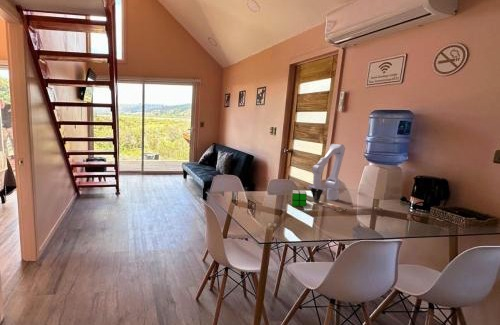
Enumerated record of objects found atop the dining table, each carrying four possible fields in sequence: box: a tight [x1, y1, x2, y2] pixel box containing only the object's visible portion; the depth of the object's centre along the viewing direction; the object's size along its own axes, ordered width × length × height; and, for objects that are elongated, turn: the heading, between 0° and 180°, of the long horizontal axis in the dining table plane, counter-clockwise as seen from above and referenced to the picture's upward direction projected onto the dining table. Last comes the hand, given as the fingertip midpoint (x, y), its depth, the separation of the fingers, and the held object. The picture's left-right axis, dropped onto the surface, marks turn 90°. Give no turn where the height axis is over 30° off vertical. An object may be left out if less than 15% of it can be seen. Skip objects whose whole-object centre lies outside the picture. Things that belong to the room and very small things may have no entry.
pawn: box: [312, 191, 320, 202], centre depth 223 cm, size 4×4×8 cm
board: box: [309, 200, 348, 212], centre depth 216 cm, size 10×25×1 cm, turn 43°
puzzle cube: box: [291, 189, 307, 208], centre depth 218 cm, size 10×10×10 cm
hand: (316, 198), depth 223 cm, fingers closed on pawn, 3 cm apart
